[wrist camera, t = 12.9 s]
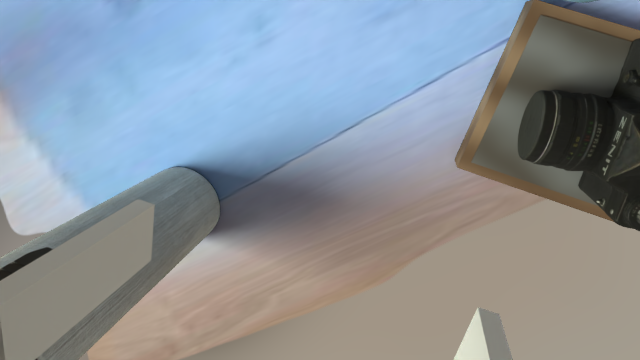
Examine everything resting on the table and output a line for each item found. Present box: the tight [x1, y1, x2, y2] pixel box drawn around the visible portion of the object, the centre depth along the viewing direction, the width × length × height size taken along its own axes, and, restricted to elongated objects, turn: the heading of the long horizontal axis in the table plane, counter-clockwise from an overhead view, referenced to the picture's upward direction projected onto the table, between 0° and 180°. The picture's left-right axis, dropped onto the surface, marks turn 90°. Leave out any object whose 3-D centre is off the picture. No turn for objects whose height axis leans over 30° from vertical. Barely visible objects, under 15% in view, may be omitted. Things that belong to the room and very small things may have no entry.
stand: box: [455, 0, 640, 222], centre depth 37 cm, size 16×16×3 cm
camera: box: [518, 38, 640, 231], centre depth 31 cm, size 14×11×10 cm
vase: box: [0, 167, 220, 360], centre depth 40 cm, size 10×10×27 cm
